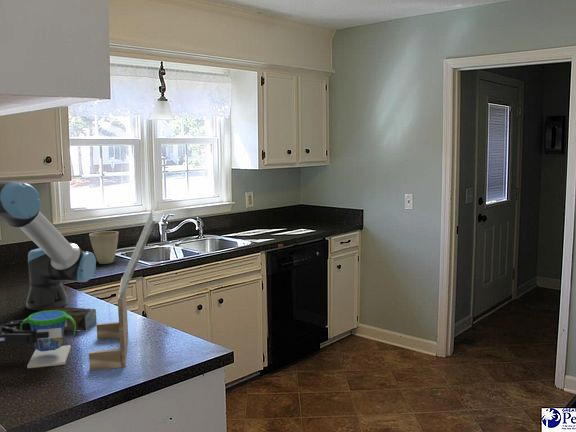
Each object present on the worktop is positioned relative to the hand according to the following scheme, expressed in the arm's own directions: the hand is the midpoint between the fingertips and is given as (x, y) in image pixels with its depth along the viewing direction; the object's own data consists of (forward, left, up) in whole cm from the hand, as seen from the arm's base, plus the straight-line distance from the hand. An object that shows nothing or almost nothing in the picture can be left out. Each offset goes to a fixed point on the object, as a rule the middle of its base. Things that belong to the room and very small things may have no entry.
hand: (63, 327), depth 167 cm
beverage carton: (-29, -3, -9) cm, 31 cm away
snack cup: (0, -4, -6) cm, 8 cm away
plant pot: (-136, +3, -9) cm, 136 cm away
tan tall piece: (0, +18, -9) cm, 20 cm away
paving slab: (0, -4, -9) cm, 10 cm away
